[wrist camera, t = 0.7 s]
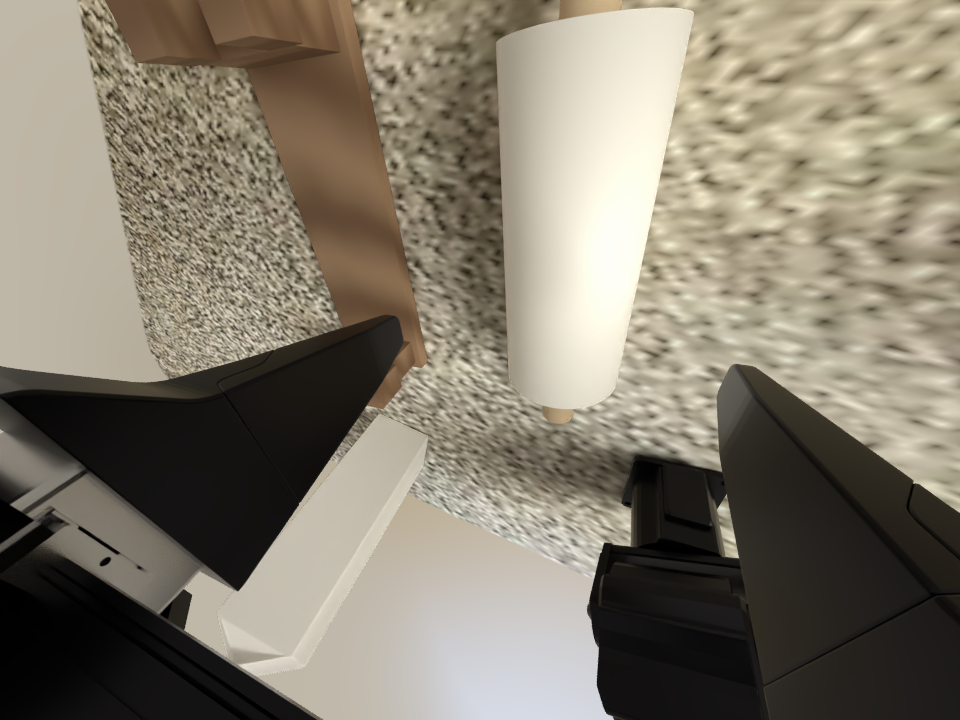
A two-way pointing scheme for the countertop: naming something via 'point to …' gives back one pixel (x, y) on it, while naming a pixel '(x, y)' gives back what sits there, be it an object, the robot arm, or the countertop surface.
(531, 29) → the kitchen roll
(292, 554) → the milk
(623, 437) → the countertop surface
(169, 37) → the bracket
